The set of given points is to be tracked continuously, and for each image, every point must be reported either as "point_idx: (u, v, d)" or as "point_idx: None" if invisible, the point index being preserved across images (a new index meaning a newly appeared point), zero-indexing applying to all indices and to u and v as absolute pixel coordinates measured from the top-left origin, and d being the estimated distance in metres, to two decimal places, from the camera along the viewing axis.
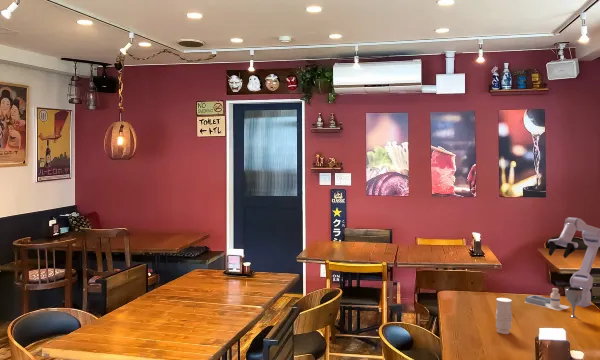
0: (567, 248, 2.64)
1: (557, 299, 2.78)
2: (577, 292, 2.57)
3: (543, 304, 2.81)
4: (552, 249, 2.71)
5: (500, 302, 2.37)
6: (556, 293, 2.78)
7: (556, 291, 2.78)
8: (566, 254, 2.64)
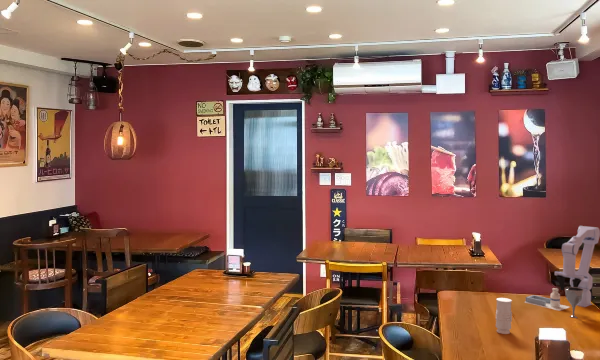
0: (574, 285, 2.70)
1: (557, 299, 2.78)
2: (577, 292, 2.57)
3: (543, 304, 2.81)
4: (562, 283, 2.76)
5: (500, 302, 2.37)
6: (556, 293, 2.78)
7: (556, 291, 2.78)
8: None
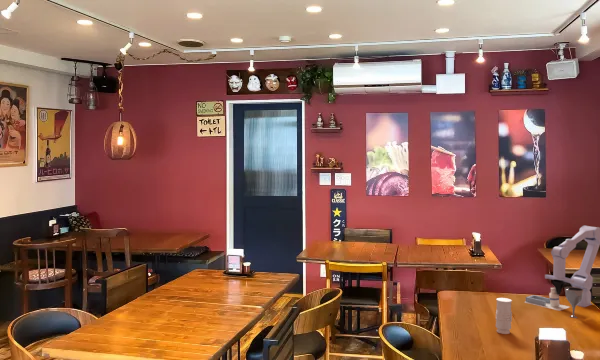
0: (558, 287, 2.76)
1: (556, 298, 2.78)
2: (577, 292, 2.57)
3: (543, 304, 2.81)
4: None
5: (500, 302, 2.37)
6: (554, 292, 2.79)
7: (554, 290, 2.79)
8: (559, 291, 2.78)
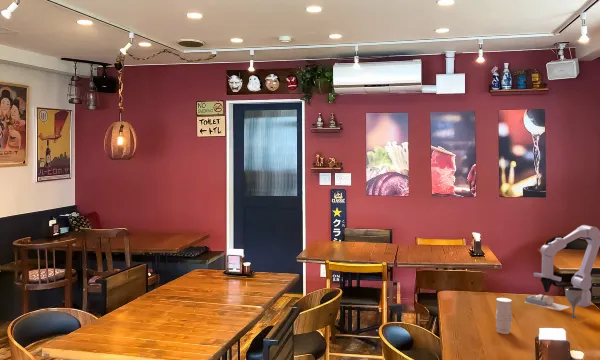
0: (546, 284, 2.81)
1: (542, 296, 2.85)
2: (577, 292, 2.57)
3: (543, 304, 2.81)
4: None
5: (500, 302, 2.37)
6: (537, 296, 2.87)
7: (535, 296, 2.88)
8: (548, 289, 2.83)
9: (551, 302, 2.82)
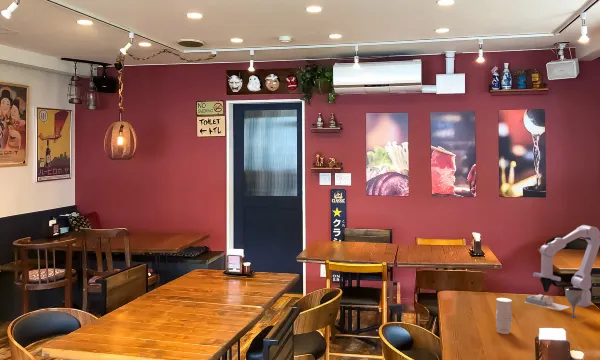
0: (546, 284, 2.82)
1: (542, 296, 2.85)
2: (577, 292, 2.57)
3: (543, 304, 2.81)
4: None
5: (500, 302, 2.37)
6: None
7: (535, 296, 2.88)
8: (547, 289, 2.83)
9: (551, 302, 2.82)
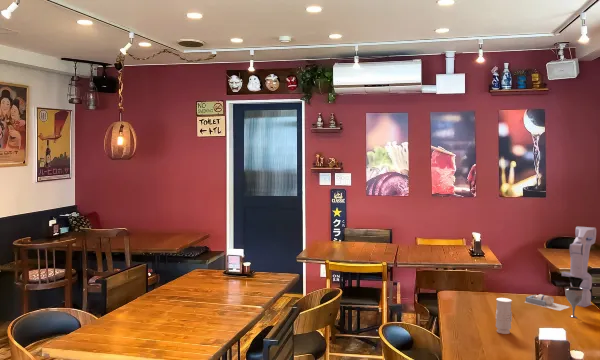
0: (576, 284, 2.71)
1: (542, 295, 2.85)
2: (577, 292, 2.57)
3: (543, 304, 2.81)
4: None
5: (500, 302, 2.37)
6: (538, 296, 2.88)
7: (536, 295, 2.89)
8: None
9: (551, 302, 2.82)
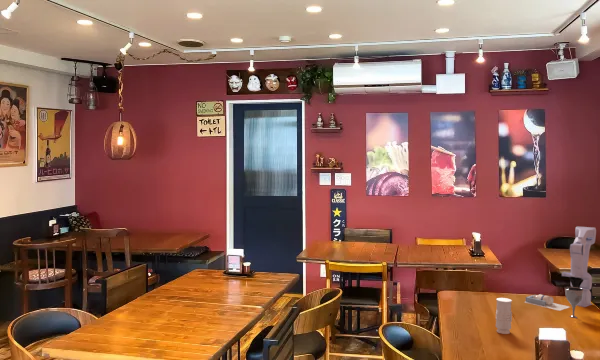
0: (576, 284, 2.71)
1: (542, 296, 2.85)
2: (577, 292, 2.57)
3: (543, 304, 2.81)
4: None
5: (500, 302, 2.37)
6: (537, 296, 2.87)
7: (535, 296, 2.88)
8: None
9: (551, 302, 2.82)
